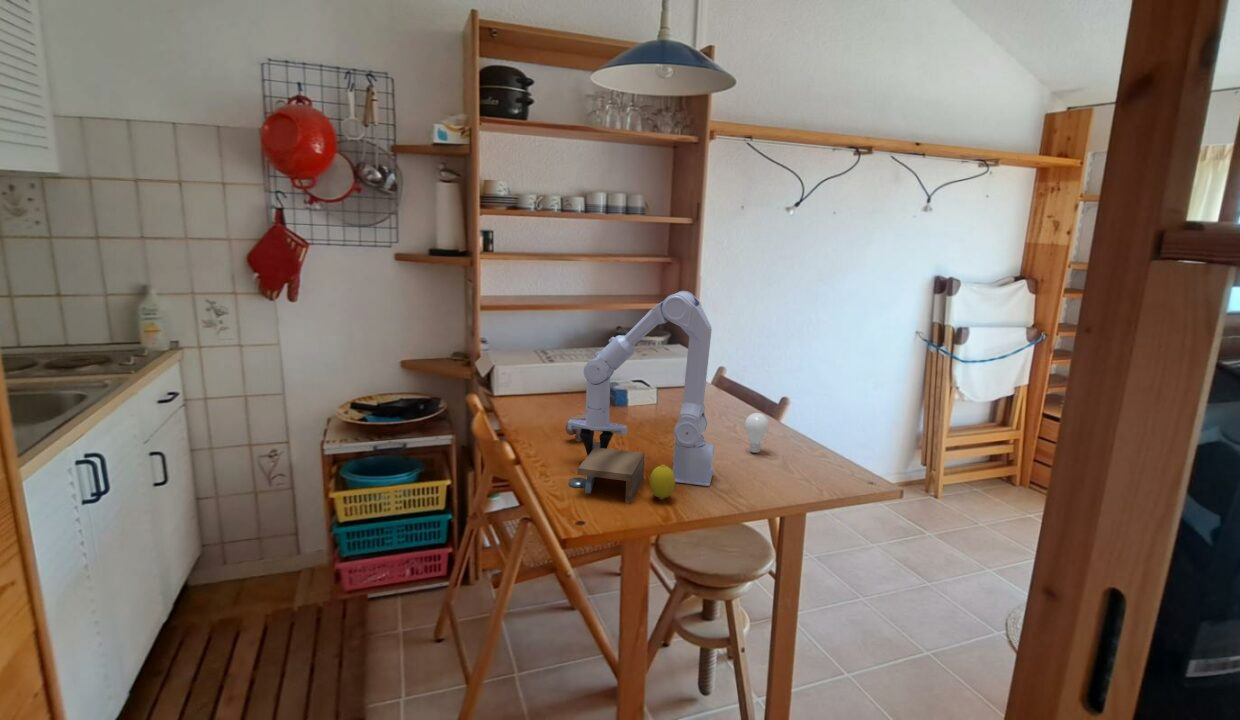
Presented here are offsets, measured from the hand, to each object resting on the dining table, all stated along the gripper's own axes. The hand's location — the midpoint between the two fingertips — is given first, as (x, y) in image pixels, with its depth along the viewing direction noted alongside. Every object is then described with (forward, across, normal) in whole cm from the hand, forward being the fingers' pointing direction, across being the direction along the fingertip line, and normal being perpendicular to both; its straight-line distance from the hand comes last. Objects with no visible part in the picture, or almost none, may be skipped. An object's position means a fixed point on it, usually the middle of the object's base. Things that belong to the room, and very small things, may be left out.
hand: (596, 459), depth 158 cm
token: (+2, +1, +13) cm, 13 cm away
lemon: (+2, -19, +16) cm, 25 cm away
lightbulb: (+2, -38, -22) cm, 44 cm away
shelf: (+1, -7, +12) cm, 14 cm away
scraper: (+1, -1, +7) cm, 8 cm away
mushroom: (+2, +9, -16) cm, 18 cm away
